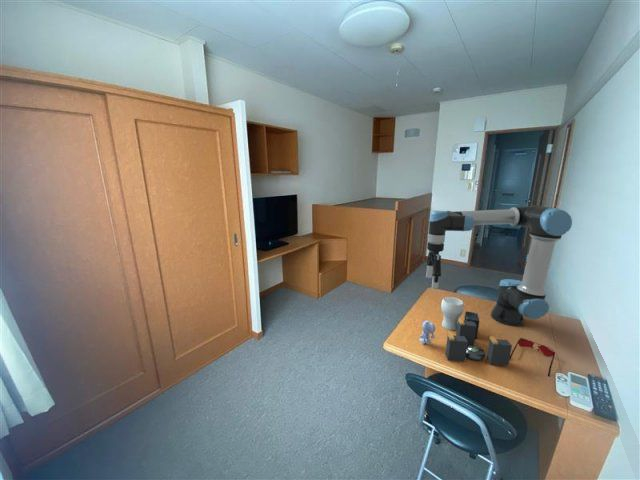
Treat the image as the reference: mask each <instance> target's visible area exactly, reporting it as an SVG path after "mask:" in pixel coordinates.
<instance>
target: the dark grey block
mask: <svg viewBox="0 0 640 480" xmlns="http://www.w3.org/2000/svg"><path fill="white" fill-rule="evenodd" d="M467 344H468V341H467V340H466V338H465V336H456V334H453V333H452V332H447V337H446V345H445V357H446V360H447V361H452V362H461V363H465V362H466V351H467Z"/></svg>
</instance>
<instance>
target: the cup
mask: <svg viewBox="0 0 640 480" xmlns="http://www.w3.org/2000/svg"><path fill="white" fill-rule="evenodd" d="M440 310H441V312H442V315H443V319H442V323H441V326H442V327H443V328H444V329H445V330H450V331H457V325H458V319H460V317H461V316H462V314H463V313H464V302H463V300H461V299H460V298H457V297H453V296H446V297H444V298H442V300H441V305H440Z"/></svg>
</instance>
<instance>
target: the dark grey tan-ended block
mask: <svg viewBox="0 0 640 480" xmlns="http://www.w3.org/2000/svg"><path fill="white" fill-rule="evenodd" d="M512 347H513V345H512V344H511V342H509V340H508V339H501V338H500V339H499V338H496V337H495V336H489V339H488V347H487V351H486V356H485V358H486V360H487V361H488V364H490V366H502V367H503V366H504V367H509V363H510V360H511V359H510V355H511V353H512V350H513V349H512ZM509 359H510V360H509Z"/></svg>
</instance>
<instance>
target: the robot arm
mask: <svg viewBox="0 0 640 480" xmlns="http://www.w3.org/2000/svg"><path fill="white" fill-rule="evenodd" d="M429 215H430V216H429V222H428V223H429V225H428V234H427V236H426V237H427V241H428V242H427V244H426V247H427V250H428V255H427V259H426V265H427V266H426V274H425V275H426V276H425V278H427V279H432V280H431V282H432V283H431V289H439V283H440V282H439V281H440V277H441V276H442V270H441V269H442V268H441V267H442V266H441V265H442V264H441V263H442V262H441V260H442V259H441V258H442V255H441V254H440V253H441V252H443V251H444V250H445V249H444V246H445V242H446V241H445V239H446V232H449V231H450V232H470V231H472V230H473V228H474V226H486V225H487V226H488V225H493V226H494V225H510V226H511V227H523V228H528V229H530V230H529V236H530V237H531V242H530V247H529V252H528V254H527V259H526V263H525V268H524V272H523V276H522V280H518V279H512V278H506V279H501V280H500V281H499V285H498V292H497V299H496V303H495V305H494V306H493V308H492V310H491V311H490V317H491V318H492V319H493V320H495V321H496V322H498V323H500V324H503V325H507V326H510V327H511V326H512V327H519V326H522V325H523V324H524V321H525V320H524V319H525V318H527V319H530V320H535V319H536V320H537V319H540V318H542V317H544V316H546V314H548V312H549V309H550V305H549V303H548V301H546V296H547V292H546V291H545V290H544V287H545V284H546V279H547V276H548V272H549V269H550V264H551V262H552V261H551V260H552V257H553V253H554V249H555V245H556V242H557V241H559V240H561V239H562V237H563V236H564V235H565V234H567V232H569V231H571V228H572V225H573V220H572V217H571V215H570V214H569V213H568V211H566V210H564V209H560V208H556V207H550V206H543V205H527V206H513V207H510V208H509V209H508V208H507V209H485V210H483V209H482V210H460V211H451V210H432V211H431V212H430V214H429ZM524 317H525V318H524Z"/></svg>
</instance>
